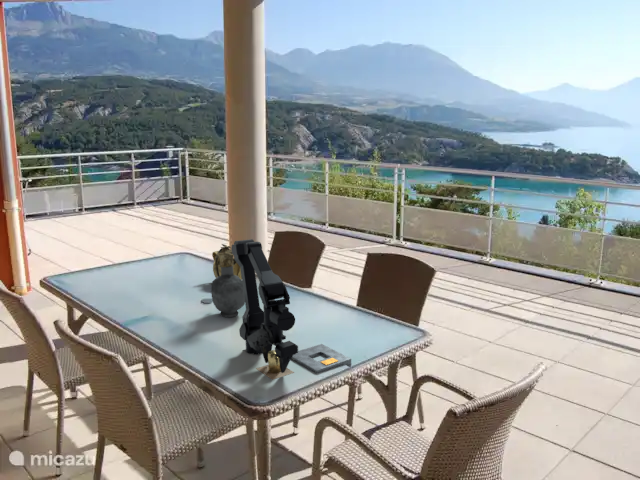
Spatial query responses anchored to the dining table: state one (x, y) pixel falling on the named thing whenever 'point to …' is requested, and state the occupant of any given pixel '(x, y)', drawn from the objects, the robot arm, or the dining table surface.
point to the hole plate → (330, 362)
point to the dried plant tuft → (235, 267)
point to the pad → (273, 375)
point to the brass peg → (273, 362)
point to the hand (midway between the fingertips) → (274, 367)
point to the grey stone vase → (227, 285)
